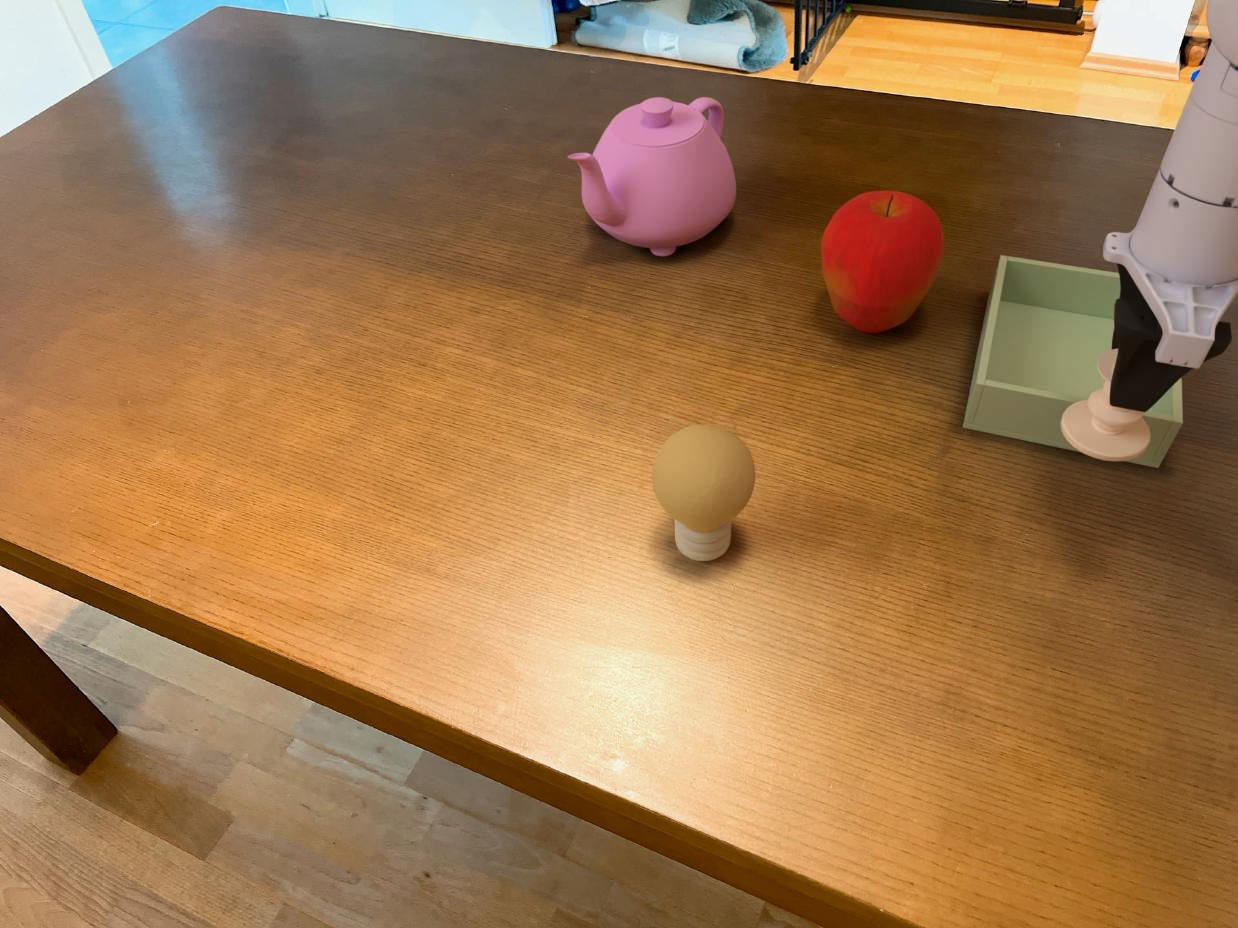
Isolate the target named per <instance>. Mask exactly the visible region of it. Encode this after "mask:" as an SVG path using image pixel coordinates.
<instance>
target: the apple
mask: <svg viewBox="0 0 1238 928" xmlns="http://www.w3.org/2000/svg"><path fill="white" fill-rule="evenodd" d="M945 247H946V242H945V236H944V231H943V225H942V221H941V220H940V218H939V216H938V215H937V213H936V211H935V210H934V209H932V207H930V206H929V205H928V204H927V203H926V202H925V201H924V200H922V199H921V198H918V197H917V196H914V195H913V194H910V193H906V192H902V191H897V190H896V191H895V190H872V191H867V192H864V193H863V192H862V193H859V194H858V195H856V196H854V197H853V198H851V199H849V200H848V201H846V202H845V203H844V204H843V205H842V206H840V207H839V208H838V209H837V210H836V211H835V213H834V214H833V216H832V217H831V219H830V220H829V223H828V224H827V226H826V227H825V229H824V230H823V234H822V238H821V243H820V249H821V273H822V277H823V279H824V283H825V286H826V289H827V293H828V295H829V298H830V301H831V305H832V307H833V311H834V313H835V314H836V315H838V316H839V317H840V318H841V319H843V320H844V321H845V322H846V323H847V324H848V325H850V327H852V328H853V329H855V330H857V331H859V332H862V333H867V334H879V333H882V332H885V331H888V330H891V329H893V328H895V327H898V326H899V325H902V324H904V323H905V322H906V321H908V320H909V319H910V317H912V316H913V315H914V314H915V312H916V310H917V309H918V307H919V306H920V304H921V303H922V301H923V300H924V298H925V297H926V295H927V294H928V292H929V291H930V290H931V288H932V285H933V282H934V280H935V277H936V275H937V273H938V270H939V267H940V265H941V262H942V260H943V256H944V253H945V252H944V251H945Z"/></svg>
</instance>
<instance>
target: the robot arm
mask: <svg viewBox="0 0 1238 928" xmlns="http://www.w3.org/2000/svg"><path fill="white" fill-rule="evenodd" d="M1205 10H1206V13H1205V15H1206V16H1205V17H1206V27H1207V30H1208V35H1209V38H1210V39H1211V42H1210V45H1209V47H1208V49H1207V52H1206V55H1205V58H1204V60H1203V62H1202V64H1201V67H1200V70H1199V72H1198V74H1197V75H1196V77H1195V79H1194V81H1193V83H1192V86H1191V88H1190V91H1189V94H1188V96H1187V99H1186V100H1185V103H1184V106H1183V108H1182V111H1181V114H1180V115H1179V117H1178V121H1177V123H1176V126H1175V127H1174V130H1173V133H1172V135H1171V139H1170V141H1169V142H1168V145H1167V148H1166V150H1165V153H1164V155H1163V158H1162V160H1161V163H1160V165H1159V168H1158V171H1157V174H1156V175H1155V179H1154V181H1153V183H1152V186H1151V188H1150V191H1149V193H1148V195H1147V198H1146V200H1145V202H1144V204H1143V208H1142V210H1141V212H1140V215H1139V217H1138V221H1137V222H1136V225H1135V226H1134V228H1133V229H1132V230H1131V231H1129V232H1119V231H1112V232H1109V233H1107V235H1106V237H1105V239H1104V242H1103V244H1102V245H1103V246H1102V257H1103V259H1104V260H1105V261H1106V262H1108V263H1112V264H1116V265H1117V270H1118V273H1119V276H1120V297H1119V299H1117V300H1116V302H1115V306H1114V331H1113V337H1112V350H1113V349H1118V353H1117V358H1116V363H1115V367H1114V371H1113V375H1112V380H1111V385H1110V405H1111V406H1113V407H1119V408H1124V409H1129V410H1135V411H1140V412H1147V411H1148V410H1149V409H1150V408H1151V407H1152V406H1153V405H1155V404H1156V403H1157V402H1158V401H1159V400H1160V398H1161V397H1162V396H1163V395H1164V394H1165V393H1166V392H1167V391H1168V390H1169V389H1170V388H1171V387H1172V386H1173V385H1174V384H1175V383H1176V382H1177V381H1178V380H1179V379H1180V378H1181V377H1182V378H1183V377H1185V375H1187V374H1188V373H1189V372H1191V371H1192V370H1194V369H1196V370H1198V369H1200V368H1201V367H1202V364H1203V363H1206V362H1207V361H1209V360H1211V359H1214V358H1216V357H1218V356H1220V355H1223V354H1224V352H1225V351H1226V350H1227V349H1228V347H1229V346H1230V344H1231V343H1232V338H1233V335H1232V325H1231V322H1227V321H1221V319H1222V318H1223V316H1224V315H1225V313H1226V311H1227V310H1228V309H1229V308H1230V306H1231V304H1232V302H1233V301H1234V299H1235V298H1236V296H1237V295H1238V0H1207V2H1206V9H1205Z"/></svg>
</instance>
